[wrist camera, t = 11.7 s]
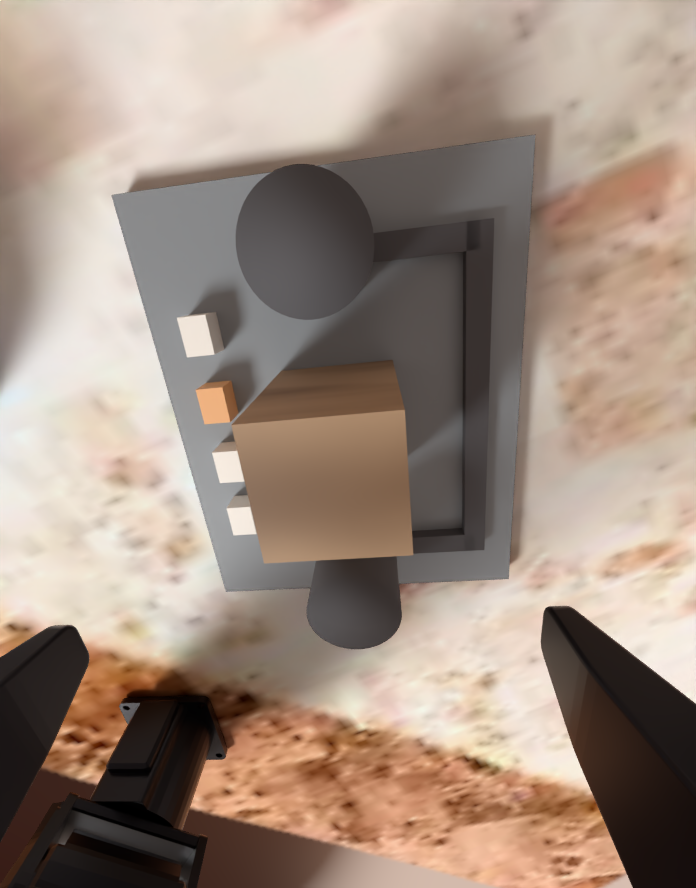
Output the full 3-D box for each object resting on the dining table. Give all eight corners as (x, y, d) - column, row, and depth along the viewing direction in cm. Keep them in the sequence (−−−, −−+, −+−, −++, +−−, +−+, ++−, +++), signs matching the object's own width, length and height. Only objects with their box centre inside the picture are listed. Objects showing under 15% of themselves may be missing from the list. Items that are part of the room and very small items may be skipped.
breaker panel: (503, 568, 23) (515, 595, 21) (230, 582, 24) (218, 607, 22) (527, 141, 15) (549, 122, 13) (122, 198, 16) (91, 189, 15)
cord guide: (480, 565, 22) (510, 644, 17) (325, 573, 22) (313, 650, 18) (491, 173, 15) (545, 128, 10) (265, 203, 15) (221, 174, 11)
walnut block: (399, 462, 19) (413, 555, 13) (298, 470, 20) (264, 563, 14) (392, 359, 18) (404, 409, 11) (281, 370, 18) (231, 424, 12)
